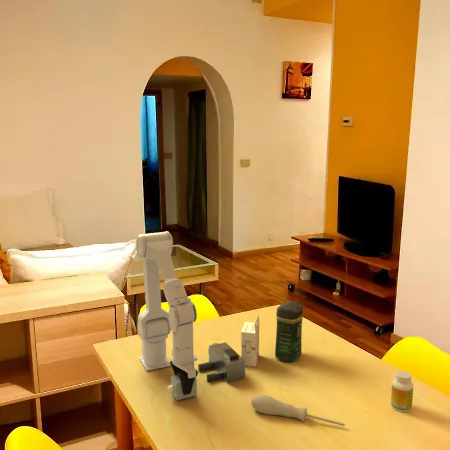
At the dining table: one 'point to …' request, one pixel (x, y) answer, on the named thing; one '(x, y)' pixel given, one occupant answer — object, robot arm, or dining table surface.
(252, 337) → the ink cartridge box
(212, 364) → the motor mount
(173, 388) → the grey block
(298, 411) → the screwdriver
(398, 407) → the supplement bottle
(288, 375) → the dining table surface
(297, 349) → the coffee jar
